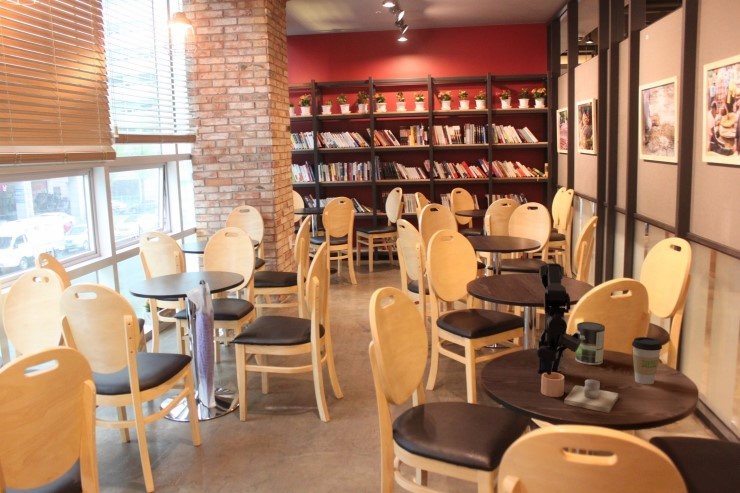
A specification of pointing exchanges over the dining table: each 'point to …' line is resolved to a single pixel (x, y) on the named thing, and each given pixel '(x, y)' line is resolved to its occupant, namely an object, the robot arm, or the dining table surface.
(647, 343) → the coffee cup
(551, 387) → the collar sleeve
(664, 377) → the dining table surface
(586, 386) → the duct mount
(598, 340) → the coffee can
